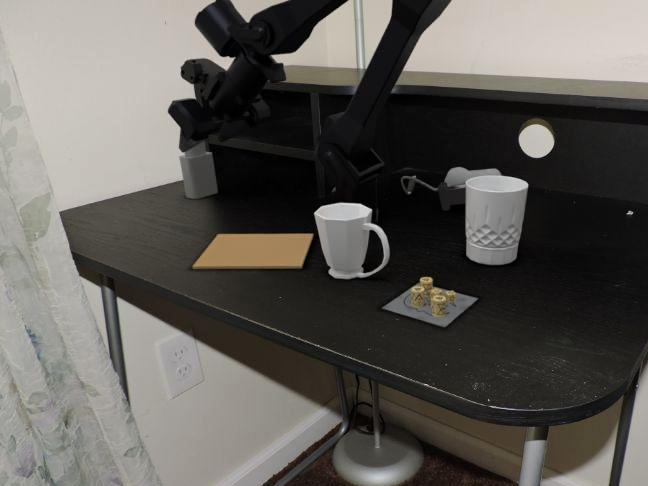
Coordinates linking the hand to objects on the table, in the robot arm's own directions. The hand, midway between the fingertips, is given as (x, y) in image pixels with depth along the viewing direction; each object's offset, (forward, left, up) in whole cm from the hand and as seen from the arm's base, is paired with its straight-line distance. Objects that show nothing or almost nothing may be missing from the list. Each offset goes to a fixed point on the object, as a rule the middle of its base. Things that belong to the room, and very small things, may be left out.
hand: (200, 145), depth 99 cm
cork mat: (-15, +27, -9) cm, 32 cm away
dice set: (-38, +43, -9) cm, 58 cm away
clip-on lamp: (-43, +3, -9) cm, 44 cm away
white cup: (-47, +29, -9) cm, 56 cm away
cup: (-29, +35, -9) cm, 46 cm away
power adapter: (+1, -1, -9) cm, 9 cm away
